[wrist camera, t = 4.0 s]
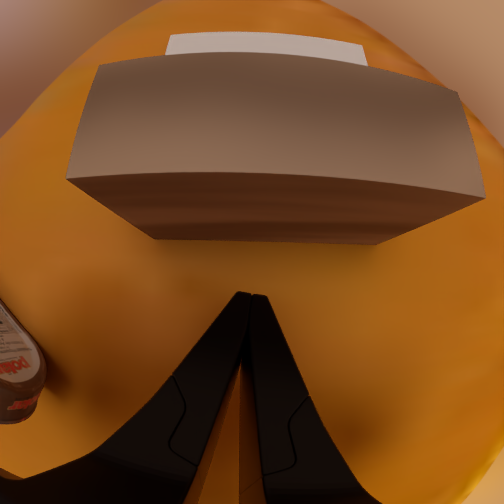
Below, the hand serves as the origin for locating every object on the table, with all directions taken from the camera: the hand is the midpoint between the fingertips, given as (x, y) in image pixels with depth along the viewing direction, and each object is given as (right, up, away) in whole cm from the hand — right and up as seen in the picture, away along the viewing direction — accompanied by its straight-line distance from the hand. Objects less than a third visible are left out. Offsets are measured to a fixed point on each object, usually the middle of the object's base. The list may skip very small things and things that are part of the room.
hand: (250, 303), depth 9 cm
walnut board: (+1, +4, +8) cm, 9 cm away
